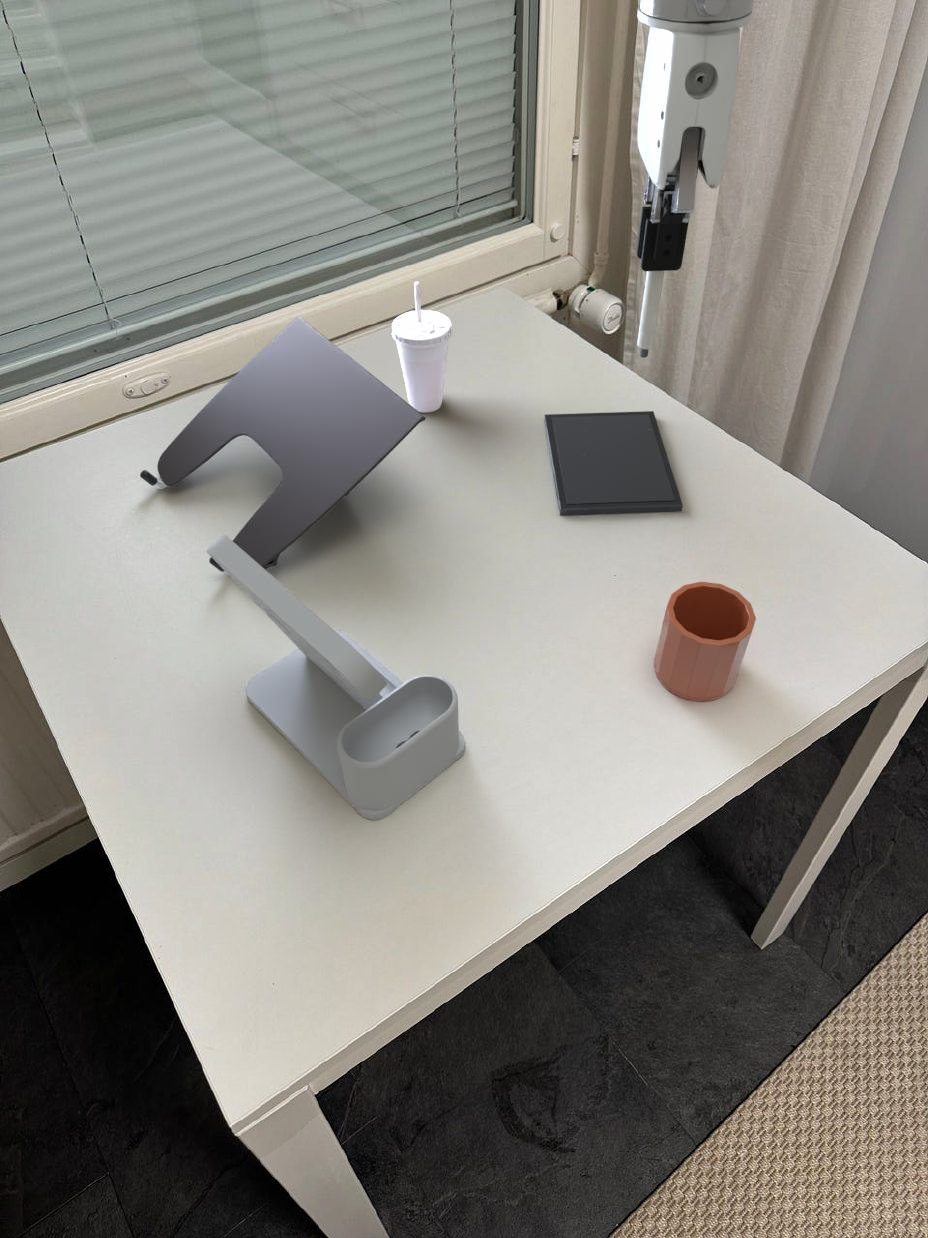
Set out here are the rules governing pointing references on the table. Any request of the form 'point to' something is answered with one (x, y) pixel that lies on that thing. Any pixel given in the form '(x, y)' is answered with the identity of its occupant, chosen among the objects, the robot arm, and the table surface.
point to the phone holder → (347, 701)
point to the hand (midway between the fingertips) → (658, 261)
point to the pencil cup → (703, 640)
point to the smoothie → (423, 354)
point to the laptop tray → (295, 433)
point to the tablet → (610, 464)
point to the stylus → (650, 308)
